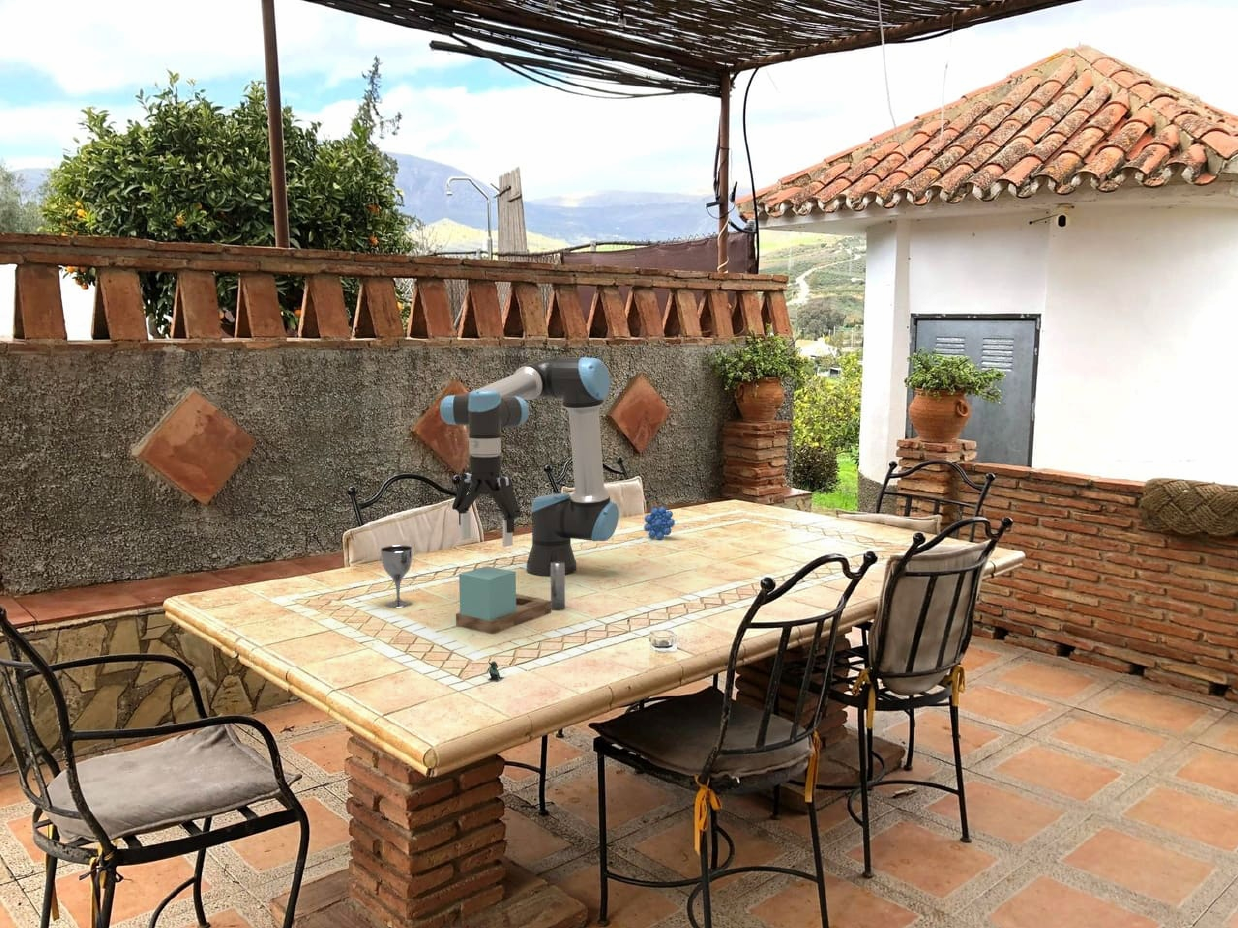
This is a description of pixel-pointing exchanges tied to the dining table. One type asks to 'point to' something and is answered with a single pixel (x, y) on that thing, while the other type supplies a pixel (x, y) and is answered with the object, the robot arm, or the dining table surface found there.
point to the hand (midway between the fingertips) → (486, 542)
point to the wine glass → (397, 569)
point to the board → (508, 616)
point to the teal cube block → (487, 593)
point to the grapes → (659, 522)
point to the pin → (557, 585)
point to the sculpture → (494, 672)
